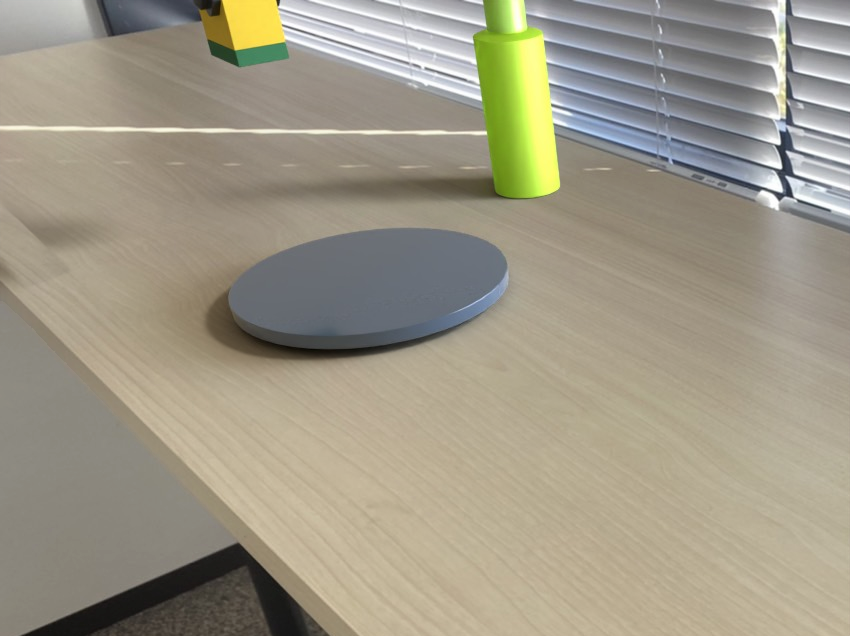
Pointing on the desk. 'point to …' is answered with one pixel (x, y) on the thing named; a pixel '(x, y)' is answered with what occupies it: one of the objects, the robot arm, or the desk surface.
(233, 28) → the sponge
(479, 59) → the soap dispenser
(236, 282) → the plate
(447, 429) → the desk surface
